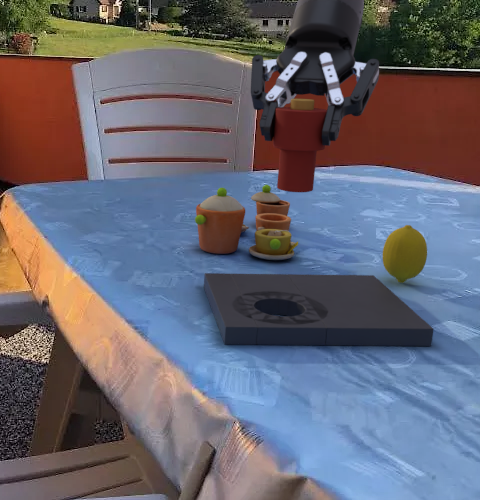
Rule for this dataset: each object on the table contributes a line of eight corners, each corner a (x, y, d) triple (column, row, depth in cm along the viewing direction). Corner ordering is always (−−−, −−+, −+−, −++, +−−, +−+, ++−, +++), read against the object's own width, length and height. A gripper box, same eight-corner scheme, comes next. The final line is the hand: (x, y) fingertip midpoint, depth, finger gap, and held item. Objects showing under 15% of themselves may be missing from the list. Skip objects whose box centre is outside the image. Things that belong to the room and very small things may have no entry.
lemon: (400, 291, 92) (408, 231, 89) (370, 278, 97) (377, 221, 94) (432, 286, 94) (440, 228, 92) (401, 274, 99) (408, 218, 97)
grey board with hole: (371, 289, 92) (373, 275, 92) (431, 346, 75) (434, 328, 74) (203, 287, 91) (204, 273, 91) (224, 344, 74) (225, 326, 74)
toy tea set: (297, 266, 101) (303, 200, 98) (189, 258, 104) (192, 193, 101) (295, 224, 126) (299, 170, 123) (207, 218, 128) (210, 165, 126)
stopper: (313, 184, 79) (321, 98, 77) (326, 194, 74) (335, 102, 71) (265, 183, 79) (271, 97, 76) (275, 193, 74) (282, 101, 71)
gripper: (260, -5, 80) (223, 110, 73) (393, -5, 75) (368, 119, 68) (267, 44, 86) (234, 155, 79) (391, 47, 81) (368, 166, 74)
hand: (296, 137), depth 73 cm, fingers closed on stopper, 5 cm apart
